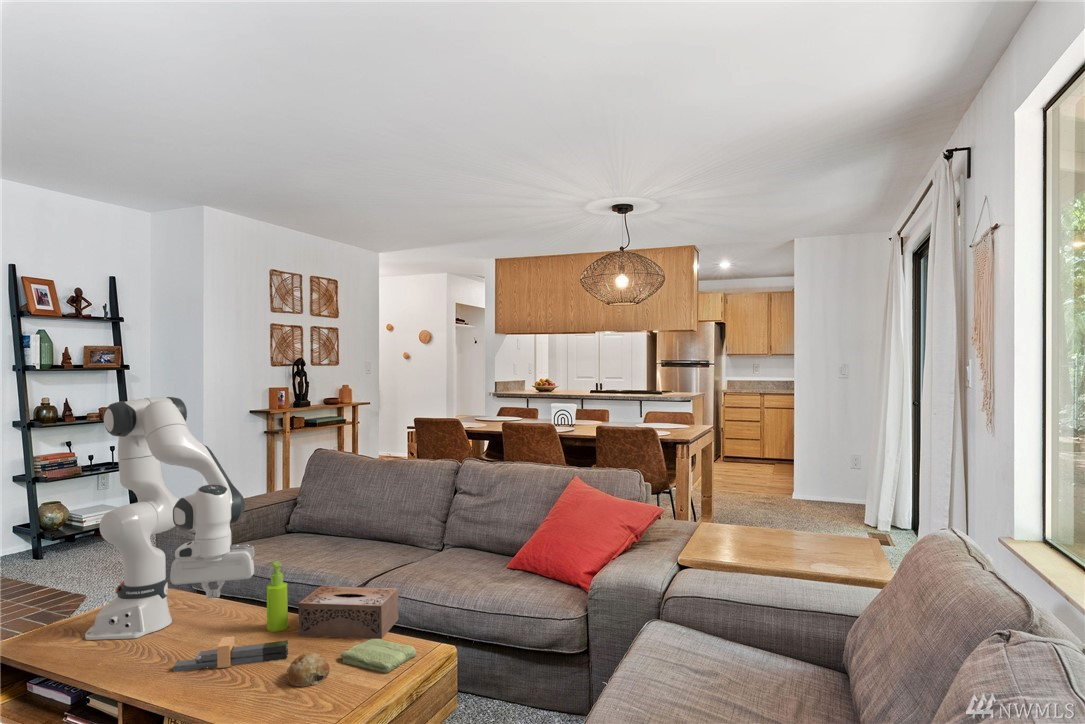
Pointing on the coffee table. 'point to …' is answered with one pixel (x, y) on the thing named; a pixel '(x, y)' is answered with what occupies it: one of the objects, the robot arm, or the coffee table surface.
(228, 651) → the tan hook block
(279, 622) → the soap dispenser
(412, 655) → the washcloth
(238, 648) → the tongs upper arm
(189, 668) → the tongs lower arm
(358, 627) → the tissue box cover
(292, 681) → the bread roll
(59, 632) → the coffee table surface
